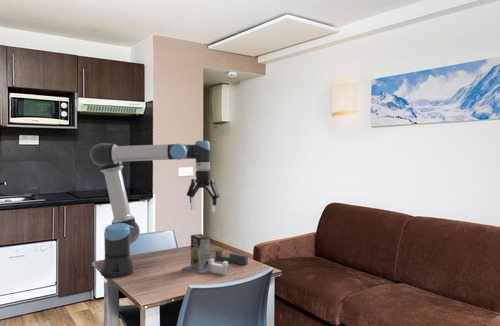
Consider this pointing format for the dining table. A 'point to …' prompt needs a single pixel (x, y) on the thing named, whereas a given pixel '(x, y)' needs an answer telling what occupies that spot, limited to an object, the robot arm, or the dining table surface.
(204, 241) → the coffee box
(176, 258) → the dining table surface
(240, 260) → the tie bar
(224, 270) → the clip jaw
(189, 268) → the mat
